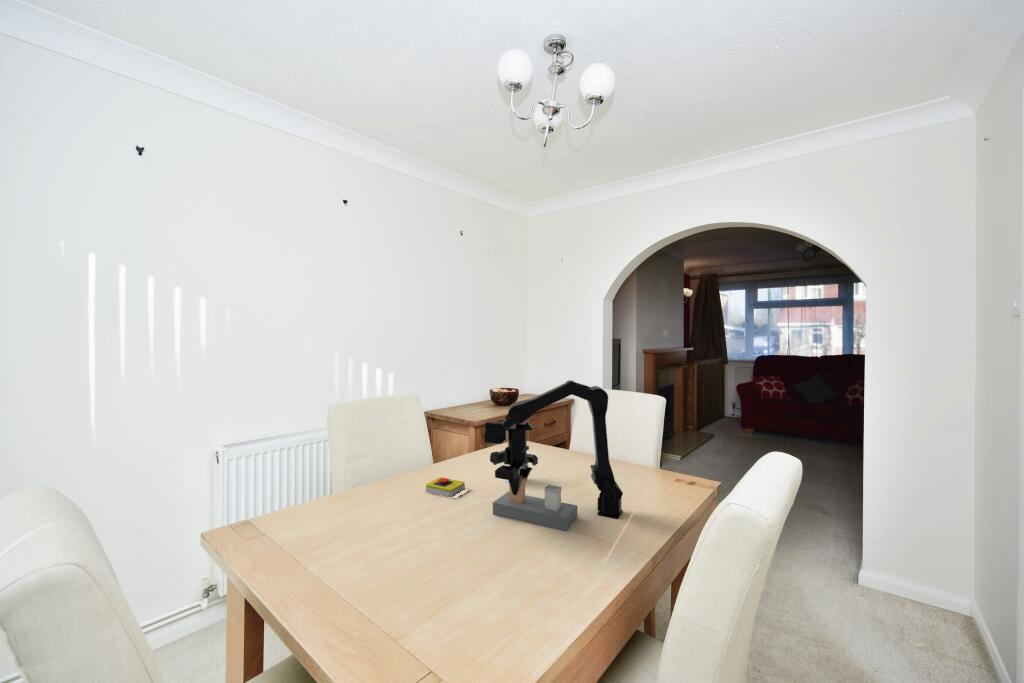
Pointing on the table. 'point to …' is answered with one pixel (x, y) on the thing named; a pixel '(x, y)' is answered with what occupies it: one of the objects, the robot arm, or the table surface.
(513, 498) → the terracotta plug
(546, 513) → the block
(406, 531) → the table surface
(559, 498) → the grey plug
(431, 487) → the emergency button
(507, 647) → the table surface
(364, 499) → the table surface
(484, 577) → the table surface
